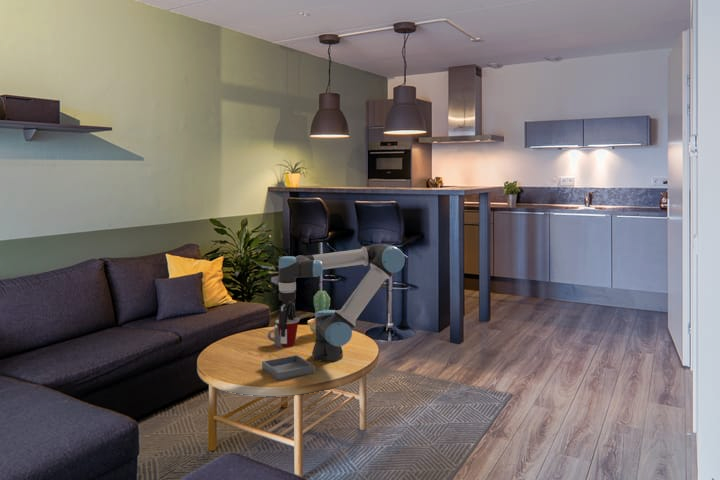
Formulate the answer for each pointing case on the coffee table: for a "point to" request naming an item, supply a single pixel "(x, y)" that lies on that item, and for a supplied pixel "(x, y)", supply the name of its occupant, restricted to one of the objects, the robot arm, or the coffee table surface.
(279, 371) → the bin
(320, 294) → the potted cactus
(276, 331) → the coffee mug
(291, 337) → the plastic cup
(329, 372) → the coffee table surface
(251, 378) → the coffee table surface
